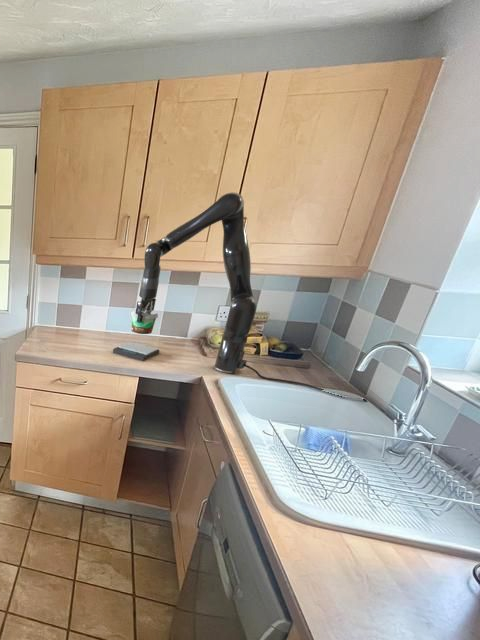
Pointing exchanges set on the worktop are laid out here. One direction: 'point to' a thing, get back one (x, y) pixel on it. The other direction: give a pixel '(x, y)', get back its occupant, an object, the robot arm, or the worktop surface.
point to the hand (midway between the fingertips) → (143, 321)
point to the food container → (143, 323)
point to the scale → (136, 351)
